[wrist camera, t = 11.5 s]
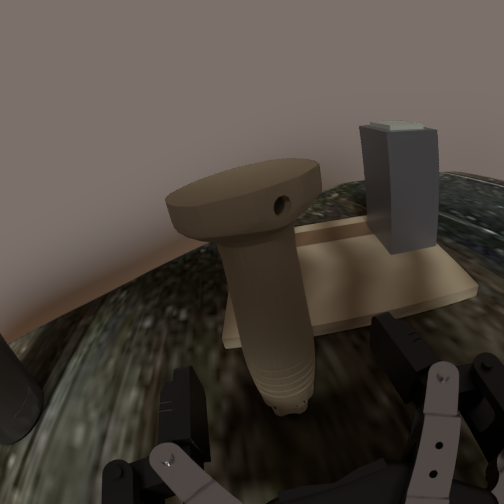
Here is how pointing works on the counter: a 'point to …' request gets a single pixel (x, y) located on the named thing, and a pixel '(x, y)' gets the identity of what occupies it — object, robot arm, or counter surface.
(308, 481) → the counter surface
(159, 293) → the counter surface
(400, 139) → the grey tall block
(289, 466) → the counter surface
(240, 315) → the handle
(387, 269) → the subfloor panel
